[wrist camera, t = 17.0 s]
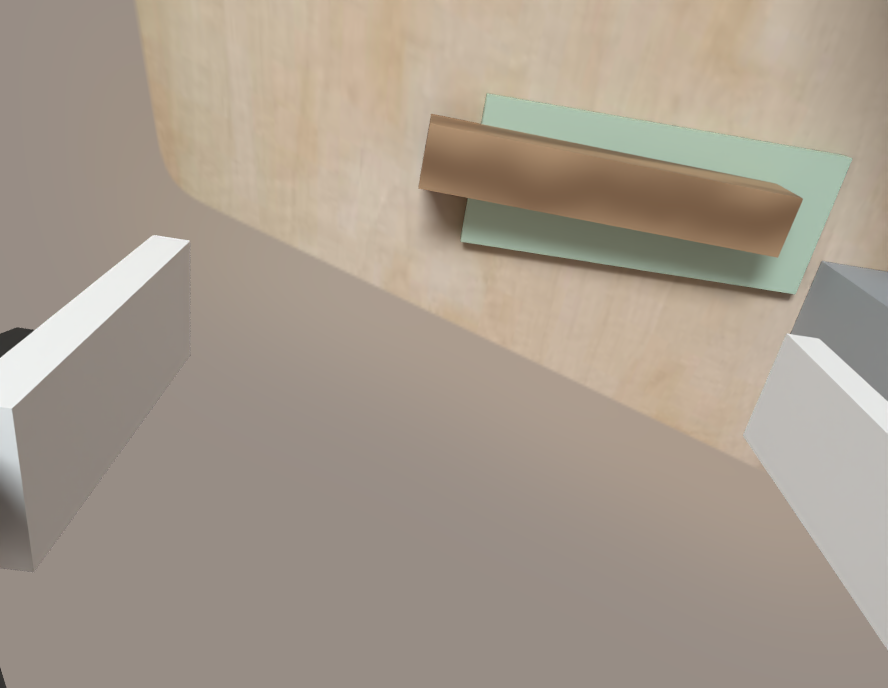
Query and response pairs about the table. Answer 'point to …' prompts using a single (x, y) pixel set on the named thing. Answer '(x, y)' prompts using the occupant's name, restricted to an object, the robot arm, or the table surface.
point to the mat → (616, 246)
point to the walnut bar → (606, 186)
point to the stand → (850, 319)
